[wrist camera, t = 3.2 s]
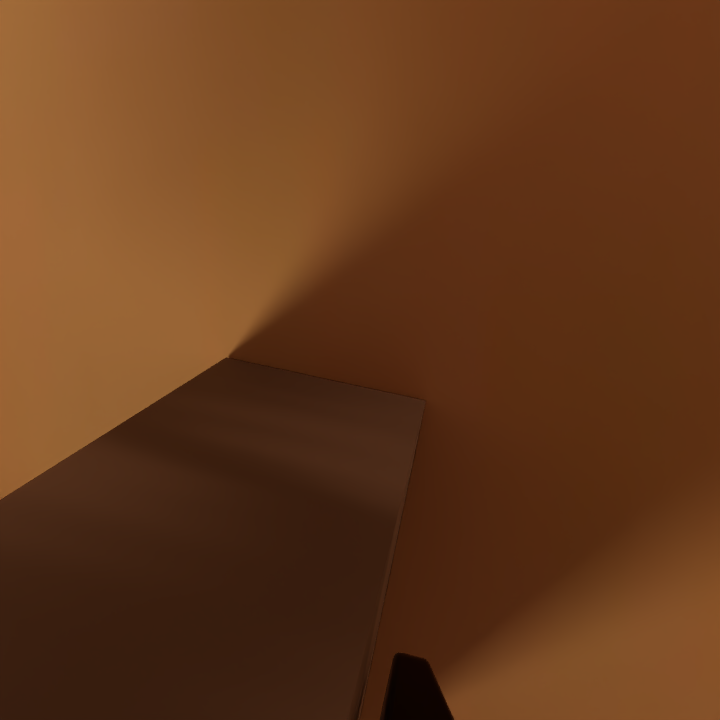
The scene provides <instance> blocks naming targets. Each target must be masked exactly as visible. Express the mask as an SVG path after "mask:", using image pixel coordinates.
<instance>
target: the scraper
mask: <svg viewBox="0 0 720 720" xmlns="http://www.w3.org/2000/svg"><path fill="white" fill-rule="evenodd" d="M425 403H426V401H425V400H420V399H415V398H411V397H406V396H402V395H397V394H392V393H388V392H383V391H378V390H374V389H369V388H365V387H360V386H355V385H351V384H346V383H341V382H337V381H332V380H328V379H323V378H318V377H314V376H309V375H304V374H300V373H295V372H291V371H286V370H281V369H277V368H272V367H267V366H263V365H258V364H253V363H249V362H244V361H240V360H235V359H230V358H225V359H223V360H222V361H220V362H218V363H217V364H215V365H214V366H212V367H210V368H209V369H207V370H206V371H204V372H202V373H201V374H199V375H198V376H196V377H195V378H193V379H191V380H190V381H188V382H187V383H185V384H183V385H182V386H180V387H179V388H177V389H175V390H174V391H172V392H171V393H169V394H168V395H166V396H164V397H163V398H161V399H160V400H158V401H156V402H155V403H153V404H152V405H150V406H149V407H147V408H145V409H144V410H142V411H141V412H139V413H137V414H136V415H134V416H133V417H131V418H129V419H128V420H126V421H125V422H123V423H122V424H120V425H118V426H117V427H115V428H114V429H112V430H110V431H109V432H107V433H106V434H104V435H102V436H101V437H99V438H98V439H96V440H95V441H93V442H91V443H90V444H88V445H87V446H85V447H83V448H82V449H80V450H79V451H77V452H76V453H74V454H72V455H71V456H69V457H68V458H66V459H64V460H63V461H61V462H60V463H58V464H56V465H55V466H53V467H52V468H50V469H49V470H47V471H45V472H44V473H42V474H41V475H39V476H37V477H36V478H34V479H33V480H31V481H29V482H28V483H26V484H25V485H23V486H22V487H20V488H18V489H17V490H15V491H14V492H12V493H10V494H9V495H7V496H6V497H4V498H3V499H1V500H0V720H360V715H361V710H362V705H363V700H364V695H365V691H366V686H367V681H368V676H369V671H370V667H371V662H372V657H373V652H374V647H375V643H376V638H377V633H378V628H379V623H380V619H381V614H382V609H383V604H384V599H385V595H386V590H387V585H388V580H389V575H390V571H391V566H392V561H393V556H394V551H395V547H396V542H397V537H398V532H399V527H400V523H401V518H402V513H403V508H404V503H405V499H406V494H407V489H408V484H409V479H410V475H411V470H412V465H413V460H414V455H415V451H416V446H417V441H418V436H419V431H420V427H421V422H422V417H423V412H424V407H425Z"/></svg>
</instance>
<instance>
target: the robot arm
mask: <svg viewBox="0 0 720 720" xmlns="http://www.w3.org/2000/svg"><path fill="white" fill-rule="evenodd" d="M380 720H454V718H453V716H452V714H451V711H450V709H449V707H448V705H447V703H446V700H445V698H444V696H443V694H442V691H441V689H440V687H439V685H438V682H437V680H436V678H435V676H434V673H433V671H432V669H431V667H430V664H429V662H428V661H427V660H426V659H424V658H420V657H417V656H413V655H409V654H405V653H401V652H398V653H396V654H395V655H394V658H393V662H392V666H391V671H390V675H389V680H388V684H387V689H386V694H385V698H384V703H383V707H382V712H381V717H380Z"/></svg>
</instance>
